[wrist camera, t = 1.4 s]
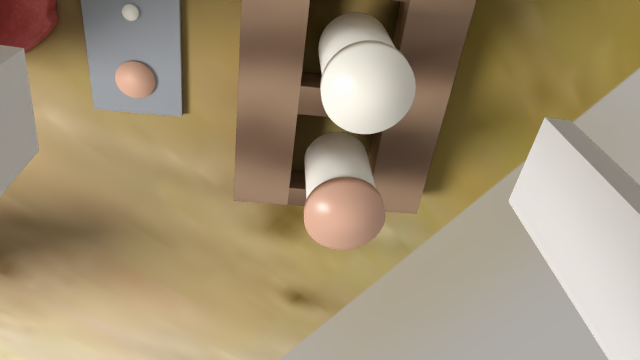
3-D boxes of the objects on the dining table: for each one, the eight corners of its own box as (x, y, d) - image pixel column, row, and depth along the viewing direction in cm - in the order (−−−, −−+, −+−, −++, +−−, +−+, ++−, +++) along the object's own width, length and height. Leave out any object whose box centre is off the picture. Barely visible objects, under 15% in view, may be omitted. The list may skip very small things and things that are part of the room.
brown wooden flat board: (253, -218, 27) (250, -224, 24) (508, -177, 28) (526, -179, 26) (236, 182, 40) (233, 200, 38) (410, 195, 41) (416, 213, 39)
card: (68, -124, 28) (63, -123, 28) (178, -109, 29) (176, -108, 29) (95, 106, 36) (93, 110, 35) (182, 114, 36) (181, 117, 36)
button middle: (320, 4, 30) (327, 40, 24) (399, 13, 30) (425, 50, 25) (310, 81, 32) (315, 130, 27) (384, 88, 33) (404, 137, 27)
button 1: (305, 126, 34) (309, 181, 28) (375, 132, 35) (392, 187, 29) (298, 185, 37) (300, 247, 31) (363, 190, 37) (377, 251, 32)
